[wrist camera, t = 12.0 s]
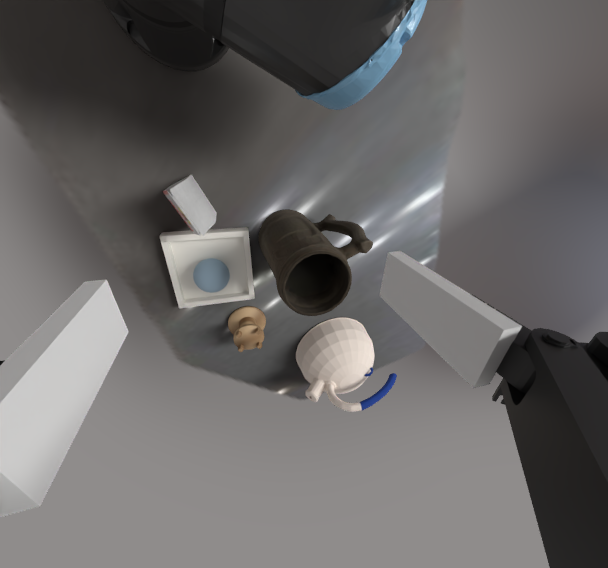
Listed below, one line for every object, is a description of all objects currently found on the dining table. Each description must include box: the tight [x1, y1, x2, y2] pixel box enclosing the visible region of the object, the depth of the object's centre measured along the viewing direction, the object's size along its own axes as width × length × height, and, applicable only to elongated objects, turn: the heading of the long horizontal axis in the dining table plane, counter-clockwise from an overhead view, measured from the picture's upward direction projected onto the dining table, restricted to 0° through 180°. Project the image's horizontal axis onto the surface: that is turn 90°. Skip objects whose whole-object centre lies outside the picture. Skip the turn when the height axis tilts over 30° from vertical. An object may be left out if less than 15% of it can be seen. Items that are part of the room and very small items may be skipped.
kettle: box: [296, 318, 397, 412], centre depth 59 cm, size 20×21×18 cm
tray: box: [159, 227, 255, 308], centre depth 46 cm, size 14×14×2 cm
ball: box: [193, 258, 230, 293], centre depth 44 cm, size 6×6×6 cm
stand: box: [228, 306, 266, 352], centre depth 52 cm, size 8×8×7 cm
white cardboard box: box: [163, 175, 217, 236], centre depth 37 cm, size 4×7×10 cm, turn 25°
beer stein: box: [259, 210, 373, 316], centre depth 40 cm, size 15×11×20 cm
